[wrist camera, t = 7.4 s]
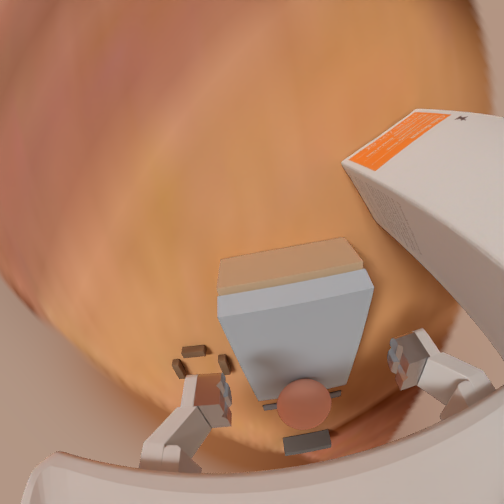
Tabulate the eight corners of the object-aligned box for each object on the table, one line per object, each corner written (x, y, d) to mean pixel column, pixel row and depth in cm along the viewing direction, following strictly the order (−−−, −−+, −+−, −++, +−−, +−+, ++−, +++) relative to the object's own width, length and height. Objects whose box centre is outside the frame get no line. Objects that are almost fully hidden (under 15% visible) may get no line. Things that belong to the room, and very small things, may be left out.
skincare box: (414, 105, 12) (614, 144, 1) (443, 167, 13) (607, 257, 3) (334, 162, 13) (535, 295, 3) (372, 223, 15) (516, 384, 4)
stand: (167, 348, 18) (165, 354, 18) (221, 342, 18) (220, 348, 18) (185, 382, 20) (184, 387, 20) (234, 377, 20) (234, 383, 20)
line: (262, 405, 22) (262, 406, 22) (340, 390, 22) (341, 391, 22) (264, 409, 22) (264, 410, 22) (340, 395, 22) (340, 396, 22)
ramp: (220, 259, 16) (214, 307, 12) (343, 236, 15) (374, 276, 11) (257, 389, 21) (260, 434, 17) (342, 373, 20) (356, 415, 17)
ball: (284, 445, 15) (273, 404, 14) (280, 415, 18) (270, 376, 18) (339, 431, 14) (334, 388, 14) (327, 403, 18) (321, 364, 18)
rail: (282, 437, 25) (284, 452, 24) (328, 429, 25) (331, 444, 23) (283, 441, 26) (285, 455, 24) (327, 432, 26) (331, 447, 24)
